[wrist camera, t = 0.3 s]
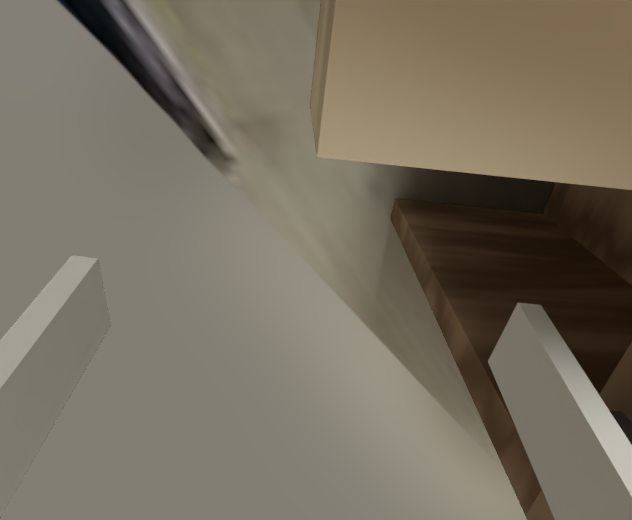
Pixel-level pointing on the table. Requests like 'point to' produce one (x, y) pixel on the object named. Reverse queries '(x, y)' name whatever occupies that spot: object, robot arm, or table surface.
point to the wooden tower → (528, 296)
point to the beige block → (478, 87)
